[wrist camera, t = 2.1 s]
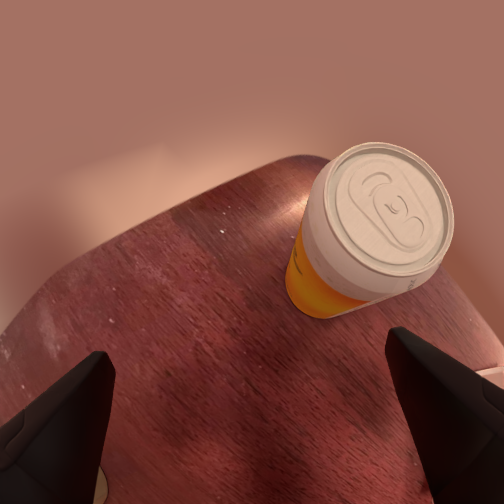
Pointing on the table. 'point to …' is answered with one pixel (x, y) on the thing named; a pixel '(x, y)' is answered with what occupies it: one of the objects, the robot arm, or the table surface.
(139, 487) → the table surface
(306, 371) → the table surface
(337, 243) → the beer can
